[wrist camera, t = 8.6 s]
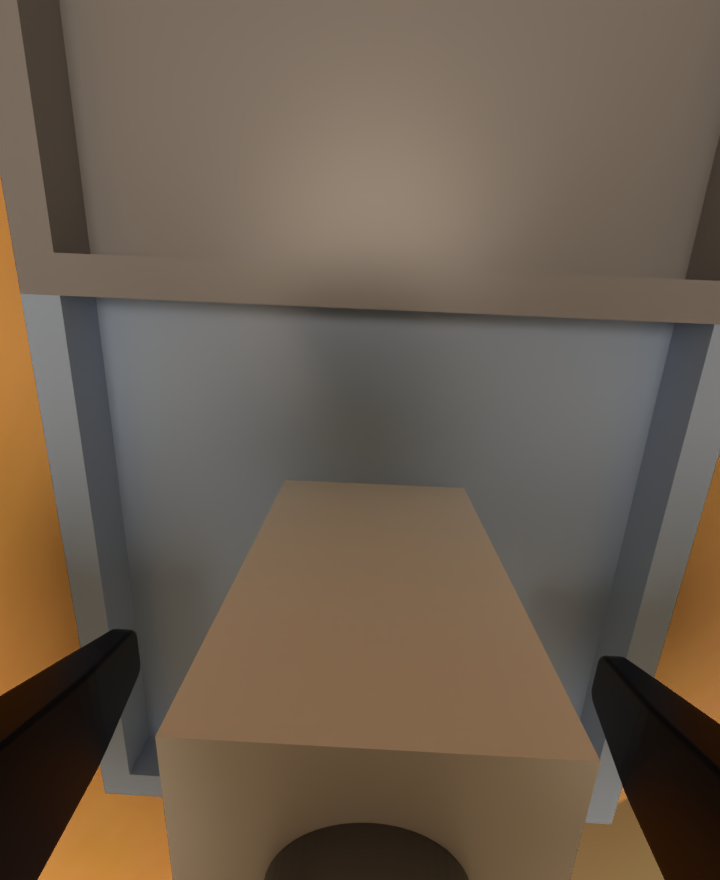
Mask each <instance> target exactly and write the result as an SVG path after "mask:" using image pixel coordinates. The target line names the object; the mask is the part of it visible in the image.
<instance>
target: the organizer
mask: <svg viewBox="0 0 720 880" xmlns="http://www.w3.org/2000/svg"><path fill="white" fill-rule="evenodd" d="M0 176H1V182H2V188H3V193H4V199H5V205H6V211H7V217H8V223H9V229H10V235H11V241H12V247H13V252H14V258H15V264H16V270H17V276H18V282H19V288H20V294H21V300H22V306H23V311H24V317H25V323H26V329H27V335H28V341H29V347H30V353H31V359H32V364H33V370H34V376H35V382H36V388H37V394H38V400H39V406H40V412H41V418H42V423H43V429H44V435H45V441H46V447H47V453H48V459H49V465H50V471H51V477H52V482H53V488H54V494H55V500H56V506H57V512H58V518H59V524H60V530H61V536H62V541H63V547H64V553H65V559H66V565H67V571H68V577H69V583H70V589H71V594H72V600H73V606H74V612H75V618H76V624H77V630H78V636H79V642H80V648H81V647H83V646H85V645H87V644H88V643H90V642H92V641H93V640H95V639H97V638H98V637H100V636H102V635H103V634H105V633H107V632H108V631H110V630H112V629H131V630H134V631H135V632H136V634H137V638H138V646H139V654H140V664H141V665H140V672H139V676H138V678H137V681H136V683H135V685H134V688H133V690H132V692H131V695H130V697H129V699H128V702H127V704H126V706H125V709H124V711H123V713H122V716H121V718H120V720H119V723H118V725H117V727H116V730H115V732H114V734H113V736H112V739H111V741H110V743H109V746H108V748H107V750H106V752H105V755H104V757H103V759H102V761H101V763H100V766H101V771H102V777H103V783H104V789H105V793H109V794H126V795H142V796H158V797H162V789H161V781H160V773H159V765H158V757H157V749H156V741H155V736H156V734H157V732H158V730H159V728H160V726H161V724H162V722H163V720H164V718H165V716H166V714H167V712H168V710H169V708H170V706H171V704H172V702H173V700H174V698H175V696H176V694H177V692H178V690H179V688H180V687H181V685H182V683H183V681H184V679H185V677H186V675H187V673H188V671H189V669H190V667H191V665H192V663H193V661H194V659H195V657H196V655H197V653H198V651H199V649H200V647H201V645H202V643H203V641H204V639H205V637H206V635H207V633H208V631H209V629H210V627H211V625H212V623H213V621H214V620H215V618H216V616H217V614H218V612H219V610H220V608H221V606H222V604H223V602H224V600H225V598H226V596H227V594H228V592H229V590H230V588H231V586H232V584H233V582H234V580H235V578H236V576H237V574H238V572H239V570H240V568H241V566H242V564H243V562H244V560H245V558H246V556H247V554H248V553H249V551H250V549H251V547H252V545H253V543H254V541H255V539H256V537H257V535H258V533H259V531H260V529H261V527H262V525H263V523H264V521H265V519H266V517H267V515H268V513H269V511H270V509H271V507H272V505H273V503H274V501H275V499H276V497H277V495H278V493H279V491H280V489H281V487H282V485H283V484H284V482H285V480H299V481H320V482H342V483H364V484H386V485H407V486H429V487H451V488H464V489H465V491H466V493H467V495H468V497H469V499H470V501H471V503H472V505H473V507H474V509H475V511H476V513H477V515H478V517H479V519H480V521H481V523H482V525H483V527H484V529H485V531H486V533H487V535H488V537H489V539H490V541H491V543H492V545H493V547H494V549H495V551H496V553H497V555H498V557H499V559H500V561H501V563H502V565H503V567H504V569H505V571H506V573H507V575H508V577H509V579H510V581H511V583H512V585H513V587H514V589H515V591H516V593H517V595H518V597H519V599H520V601H521V603H522V605H523V607H524V609H525V611H526V613H527V615H528V617H529V619H530V621H531V623H532V625H533V627H534V629H535V631H536V633H537V635H538V637H539V639H540V641H541V643H542V645H543V647H544V649H545V651H546V653H547V655H548V657H549V659H550V661H551V663H552V665H553V667H554V669H555V671H556V673H557V675H558V677H559V679H560V681H561V683H562V685H563V687H564V689H565V691H566V693H567V695H568V697H569V699H570V701H571V703H572V705H573V707H574V709H575V711H576V713H577V715H578V717H579V719H580V721H581V723H582V725H583V727H584V729H585V731H586V733H587V735H588V737H589V739H590V741H591V743H592V745H593V747H594V749H595V751H596V753H597V755H598V757H599V759H600V761H601V763H600V766H599V770H598V774H597V778H596V782H595V786H594V790H593V793H592V797H591V801H590V805H589V809H588V813H587V817H586V820H585V823H599V824H612V821H613V817H614V814H615V810H616V807H617V803H618V800H619V796H620V793H621V790H622V783H621V780H620V778H619V775H618V772H617V769H616V767H615V764H614V761H613V758H612V755H611V753H610V750H609V747H608V744H607V741H606V738H605V736H604V733H603V730H602V727H601V724H600V721H599V719H598V716H597V713H596V710H595V707H594V704H593V701H592V695H591V689H592V684H593V680H594V676H595V672H596V668H597V663H598V660H599V659H600V657H601V656H605V655H607V656H621V657H625V658H626V659H628V660H629V661H631V662H632V663H634V664H635V665H637V666H638V667H639V668H641V669H642V670H644V671H645V672H646V673H648V674H649V675H651V676H652V677H654V676H655V672H656V669H657V665H658V662H659V659H660V655H661V652H662V648H663V645H664V641H665V638H666V634H667V631H668V628H669V624H670V621H671V617H672V614H673V610H674V607H675V603H676V600H677V597H678V593H679V590H680V586H681V583H682V579H683V576H684V572H685V569H686V566H687V562H688V559H689V555H690V552H691V548H692V545H693V541H694V538H695V535H696V531H697V528H698V524H699V521H700V517H701V514H702V510H703V507H704V503H705V500H706V497H707V493H708V490H709V486H710V483H711V479H712V476H713V472H714V469H715V466H716V462H717V459H718V455H719V452H720V0H0Z"/></svg>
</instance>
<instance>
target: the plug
mask: <svg viewBox="0 0 720 880" xmlns="http://www.w3.org/2000/svg"><path fill="white" fill-rule="evenodd" d="M155 741H156V749H157V757H158V765H159V773H160V781H161V789H162V797H163V805H164V813H165V821H166V829H167V837H168V845H169V853H170V861H171V869H172V877H173V880H570V878H571V874H572V871H573V866H574V863H575V859H576V855H577V851H578V847H579V844H580V840H581V836H582V832H583V828H584V824H585V820H586V817H587V813H588V809H589V805H590V801H591V797H592V793H593V790H594V786H595V782H596V778H597V774H598V770H599V766H600V763H601V761H600V759H599V757H598V755H597V753H596V751H595V749H594V747H593V745H592V743H591V741H590V739H589V737H588V735H587V733H586V731H585V729H584V727H583V725H582V723H581V721H580V719H579V717H578V715H577V713H576V711H575V709H574V707H573V705H572V703H571V701H570V699H569V697H568V695H567V693H566V691H565V689H564V687H563V685H562V683H561V681H560V679H559V677H558V675H557V673H556V671H555V669H554V667H553V665H552V663H551V661H550V659H549V657H548V655H547V653H546V651H545V649H544V647H543V645H542V643H541V641H540V639H539V637H538V635H537V633H536V631H535V629H534V627H533V625H532V623H531V621H530V619H529V617H528V615H527V613H526V611H525V609H524V607H523V605H522V603H521V601H520V599H519V597H518V595H517V593H516V591H515V589H514V587H513V585H512V583H511V581H510V579H509V577H508V575H507V573H506V571H505V569H504V567H503V565H502V563H501V561H500V559H499V557H498V555H497V553H496V551H495V549H494V547H493V545H492V543H491V541H490V539H489V537H488V535H487V533H486V531H485V529H484V527H483V525H482V523H481V521H480V519H479V517H478V515H477V513H476V511H475V509H474V507H473V505H472V503H471V501H470V499H469V497H468V495H467V493H466V491H465V489H464V488H451V487H429V486H407V485H386V484H364V483H342V482H320V481H299V480H285V482H284V484H283V485H282V487H281V489H280V491H279V493H278V495H277V497H276V499H275V501H274V503H273V505H272V507H271V509H270V511H269V513H268V515H267V517H266V519H265V521H264V523H263V525H262V527H261V529H260V531H259V533H258V535H257V537H256V539H255V541H254V543H253V545H252V547H251V549H250V551H249V553H248V554H247V556H246V558H245V560H244V562H243V564H242V566H241V568H240V570H239V572H238V574H237V576H236V578H235V580H234V582H233V584H232V586H231V588H230V590H229V592H228V594H227V596H226V598H225V600H224V602H223V604H222V606H221V608H220V610H219V612H218V614H217V616H216V618H215V620H214V621H213V623H212V625H211V627H210V629H209V631H208V633H207V635H206V637H205V639H204V641H203V643H202V645H201V647H200V649H199V651H198V653H197V655H196V657H195V659H194V661H193V663H192V665H191V667H190V669H189V671H188V673H187V675H186V677H185V679H184V681H183V683H182V685H181V687H180V688H179V690H178V692H177V694H176V696H175V698H174V700H173V702H172V704H171V706H170V708H169V710H168V712H167V714H166V716H165V718H164V720H163V722H162V724H161V726H160V728H159V730H158V732H157V734H156V736H155Z"/></svg>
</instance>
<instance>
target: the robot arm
mask: <svg viewBox="0 0 720 880" xmlns="http://www.w3.org/2000/svg"><path fill="white" fill-rule="evenodd" d="M140 665H141V664H140V654H139V646H138V638H137V634H136V632H135V631H134V630H131V629H112V630H110V631H108V632H107V633H105V634H103V635H102V636H100V637H98V638H97V639H95V640H93V641H92V642H90V643H88V644H87V645H85V646H83V647H81V648H80V649H78V650H76V651H75V652H73V653H71V654H70V655H68V656H66V657H65V658H63V659H61V660H60V661H58V662H56V663H55V664H53V665H51V666H50V667H48V668H46V669H45V670H43V671H41V672H40V673H38V674H36V675H35V676H33V677H31V678H30V679H28V680H26V681H25V682H23V683H21V684H20V685H18V686H16V687H15V688H13V689H11V690H10V691H8V692H6V693H4V694H3V695H1V696H0V880H38V878H39V876H40V874H41V872H42V870H43V869H44V867H45V865H46V863H47V861H48V859H49V858H50V856H51V854H52V852H53V850H54V848H55V846H56V845H57V843H58V841H59V839H60V837H61V835H62V834H63V832H64V830H65V828H66V826H67V824H68V823H69V821H70V819H71V817H72V815H73V813H74V811H75V810H76V808H77V806H78V804H79V802H80V800H81V799H82V797H83V795H84V793H85V791H86V789H87V787H88V786H89V784H90V782H91V780H92V778H93V776H94V775H95V773H96V771H97V769H98V767H99V765H100V763H101V761H102V759H103V757H104V755H105V752H106V750H107V748H108V746H109V743H110V741H111V739H112V736H113V734H114V732H115V730H116V727H117V725H118V723H119V720H120V718H121V716H122V713H123V711H124V709H125V706H126V704H127V702H128V699H129V697H130V695H131V692H132V690H133V688H134V685H135V683H136V681H137V678H138V676H139V672H140ZM591 695H592V701H593V704H594V707H595V710H596V713H597V716H598V719H599V721H600V724H601V727H602V730H603V733H604V736H605V738H606V741H607V744H608V747H609V750H610V753H611V755H612V758H613V761H614V764H615V767H616V769H617V772H618V775H619V778H620V780H621V783H622V786H623V788H624V791H625V793H626V796H627V798H628V800H629V802H630V805H631V807H632V809H633V812H634V813H635V816H636V818H637V820H638V822H639V825H640V827H641V829H642V831H643V833H644V836H645V838H646V840H647V842H648V844H649V846H650V849H651V851H652V853H653V855H654V858H655V860H656V862H657V864H658V866H659V868H660V870H661V873H662V875H663V877H664V879H665V880H720V724H719V723H717V722H716V721H715V720H713V719H712V718H710V717H709V716H707V715H706V714H705V713H703V712H702V711H700V710H699V709H698V708H696V707H695V706H693V705H692V704H690V703H689V702H688V701H686V700H685V699H683V698H682V697H681V696H679V695H678V694H676V693H675V692H673V691H672V690H671V689H669V688H668V687H666V686H665V685H663V684H662V683H661V682H659V681H658V680H656V679H655V678H654V677H652V676H651V675H649V674H648V673H646V672H645V671H644V670H642V669H641V668H639V667H638V666H637V665H635V664H634V663H632V662H631V661H629V660H628V659H626V658H625V657H621V656H607V655H605V656H601V657H600V659H599V660H598V663H597V668H596V672H595V676H594V680H593V684H592V689H591Z"/></svg>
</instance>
